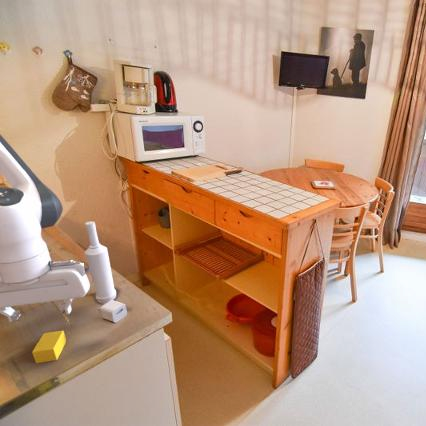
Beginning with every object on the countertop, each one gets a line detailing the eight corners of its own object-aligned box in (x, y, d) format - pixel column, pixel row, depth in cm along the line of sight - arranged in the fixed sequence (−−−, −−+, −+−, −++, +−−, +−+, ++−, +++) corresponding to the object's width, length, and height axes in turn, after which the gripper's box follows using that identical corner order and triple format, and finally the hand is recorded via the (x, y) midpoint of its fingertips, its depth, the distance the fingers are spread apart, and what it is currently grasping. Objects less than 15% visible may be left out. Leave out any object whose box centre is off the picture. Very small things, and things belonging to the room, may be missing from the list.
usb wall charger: (114, 323, 86) (112, 311, 84) (95, 316, 88) (92, 304, 86) (127, 314, 89) (124, 303, 88) (108, 307, 91) (106, 296, 90)
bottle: (118, 291, 98) (103, 218, 88) (115, 302, 93) (99, 226, 84) (98, 294, 96) (81, 219, 86) (94, 305, 92) (75, 227, 82)
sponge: (57, 360, 74) (53, 348, 73) (36, 363, 73) (31, 352, 71) (66, 341, 79) (63, 330, 78) (47, 344, 78) (43, 333, 77)
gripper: (86, 251, 73) (99, 300, 78) (-29, 262, 66) (-7, 314, 72) (77, 266, 67) (91, 317, 73) (-50, 279, 61) (-24, 334, 66)
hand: (42, 316), depth 72 cm, fingers open, 8 cm apart
